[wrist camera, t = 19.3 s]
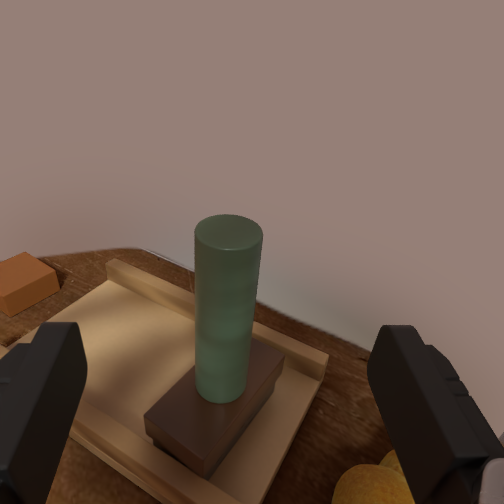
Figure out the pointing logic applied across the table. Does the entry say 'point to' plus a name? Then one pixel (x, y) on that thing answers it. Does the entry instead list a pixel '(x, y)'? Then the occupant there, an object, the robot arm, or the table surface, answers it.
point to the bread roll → (374, 484)
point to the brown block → (25, 283)
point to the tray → (162, 379)
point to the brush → (218, 352)
